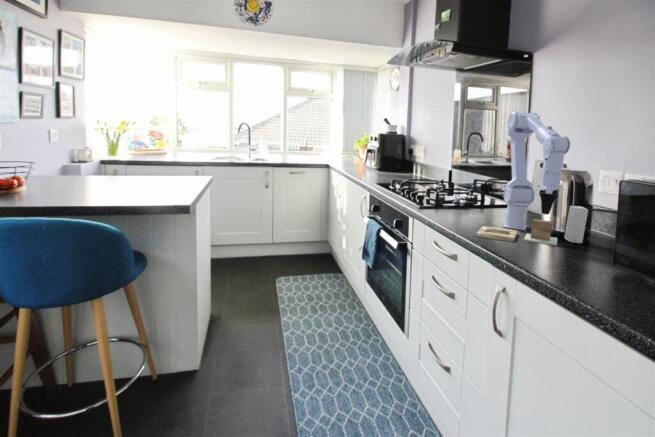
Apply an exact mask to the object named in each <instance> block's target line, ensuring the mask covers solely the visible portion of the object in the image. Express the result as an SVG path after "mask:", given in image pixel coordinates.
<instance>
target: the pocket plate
mask: <svg viewBox="0 0 655 437" xmlns="http://www.w3.org/2000/svg"><path fill="white" fill-rule="evenodd" d="M517 235H518V230H516V229H514V230H513V229H509V228H508V229H507V228H503V227H502V228H501V227H500V228H499V227H493V226H487V225H482V226H481V227H480V229H479V230H477V232H476V235H475V236H476V237H480V238H487V239H493V240H500V241H504V242H512V243H514V241H515V239H516V238H517Z"/></svg>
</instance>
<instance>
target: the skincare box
mask: <svg viewBox="0 0 655 437" xmlns="http://www.w3.org/2000/svg"><path fill="white" fill-rule="evenodd" d="M588 214H589V209H588V208H586V207H584V206H580V205H570V206H569V210H568V215H567V220H566V226H565V233H564V239H565V240H566V241H568V242H569V243H577V244H583V240H584V236H585V235H584V234H585V230H586V224H587V218H588Z"/></svg>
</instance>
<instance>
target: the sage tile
mask: <svg viewBox="0 0 655 437" xmlns="http://www.w3.org/2000/svg"><path fill="white" fill-rule="evenodd" d="M530 237H531V233H529V232H527V233H526V234H525V236H524V238H523V239H524V240H523V241H525V242H532V243H538V244H545V245H552V246H557V245H558V237H554V236H550V241H548V240H541V239H535V238H530Z"/></svg>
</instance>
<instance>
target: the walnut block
mask: <svg viewBox="0 0 655 437" xmlns="http://www.w3.org/2000/svg"><path fill="white" fill-rule="evenodd" d="M552 227H553V221H551V220H542V219H535V218H534V219H533V220H532V227H531V231H530V234H531V237H530V238H535V239H541V240H548V241H550V237H551V235H552V229H553V228H552Z"/></svg>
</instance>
